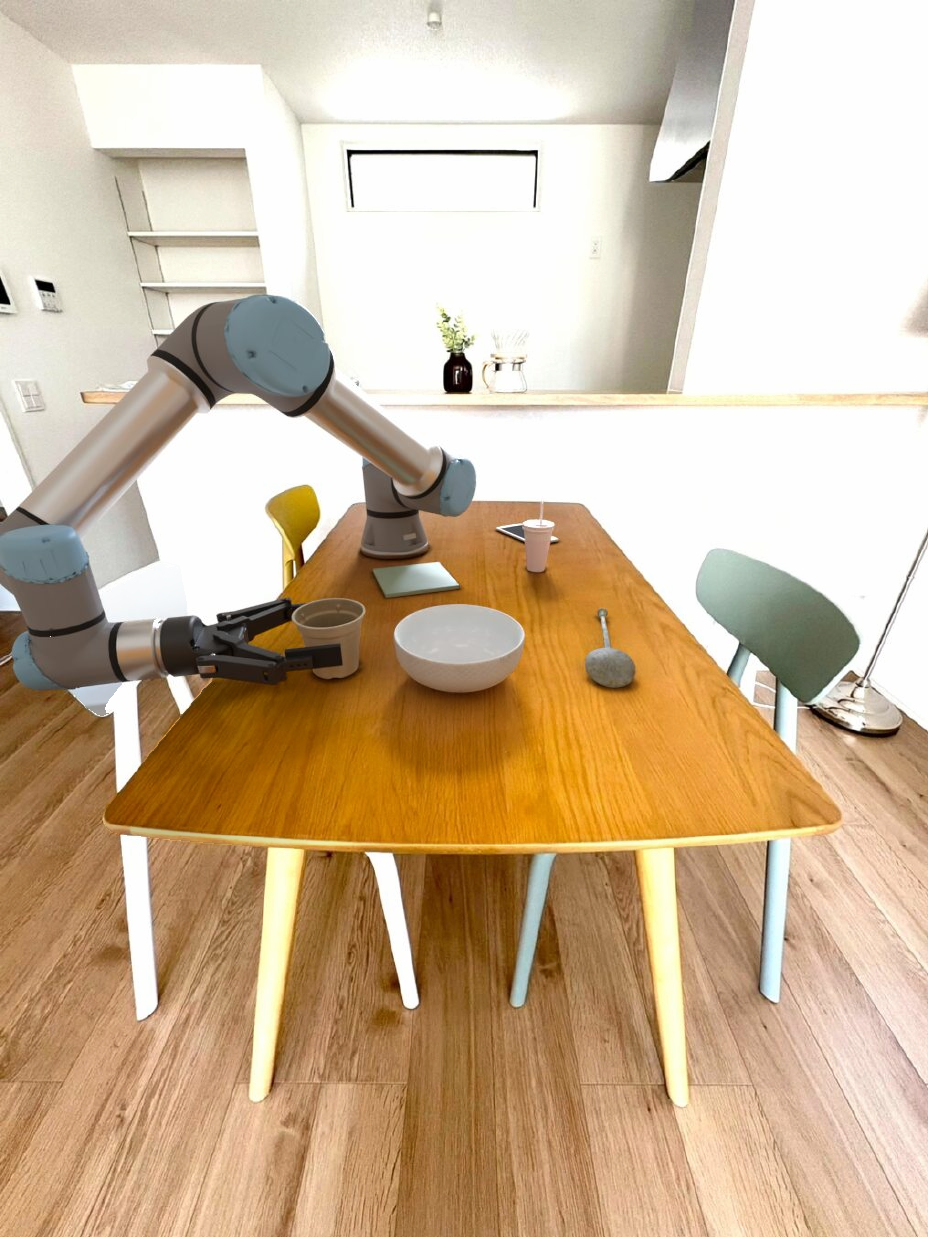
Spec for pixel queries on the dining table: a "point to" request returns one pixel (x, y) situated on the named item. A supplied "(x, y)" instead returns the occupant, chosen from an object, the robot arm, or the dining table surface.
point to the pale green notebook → (414, 579)
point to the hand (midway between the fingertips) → (340, 630)
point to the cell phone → (517, 532)
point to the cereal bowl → (459, 647)
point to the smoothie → (537, 542)
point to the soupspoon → (609, 661)
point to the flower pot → (332, 631)
